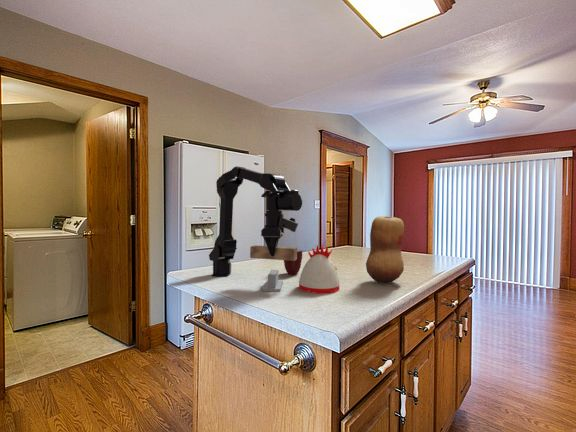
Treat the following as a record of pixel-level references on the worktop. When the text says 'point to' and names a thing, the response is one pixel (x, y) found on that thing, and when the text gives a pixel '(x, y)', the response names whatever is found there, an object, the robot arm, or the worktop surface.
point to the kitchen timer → (319, 273)
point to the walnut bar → (280, 253)
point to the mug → (294, 264)
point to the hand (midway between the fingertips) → (273, 255)
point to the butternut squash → (385, 249)
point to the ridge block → (273, 282)
